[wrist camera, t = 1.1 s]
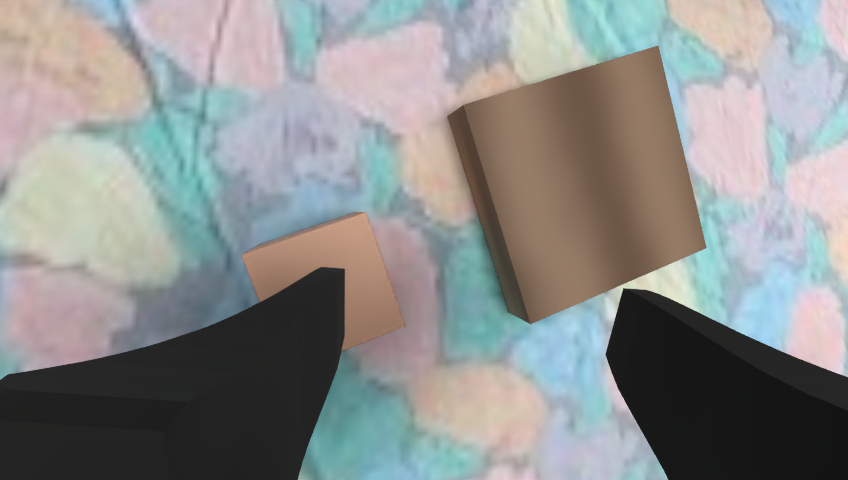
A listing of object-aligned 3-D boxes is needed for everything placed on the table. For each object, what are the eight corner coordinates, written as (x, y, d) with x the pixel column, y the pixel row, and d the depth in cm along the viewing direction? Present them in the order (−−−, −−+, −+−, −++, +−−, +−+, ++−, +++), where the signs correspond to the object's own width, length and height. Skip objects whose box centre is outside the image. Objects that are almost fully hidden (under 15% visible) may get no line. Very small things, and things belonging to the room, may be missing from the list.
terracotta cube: (294, 336, 21) (288, 373, 16) (258, 244, 21) (240, 255, 16) (386, 300, 22) (405, 325, 17) (354, 212, 22) (366, 212, 17)
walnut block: (505, 310, 24) (530, 324, 21) (444, 118, 23) (463, 105, 20) (663, 243, 27) (706, 247, 24) (618, 64, 25) (658, 45, 22)
